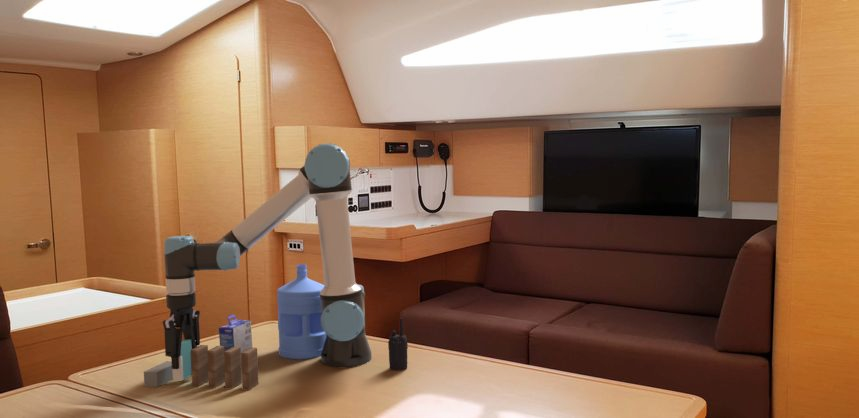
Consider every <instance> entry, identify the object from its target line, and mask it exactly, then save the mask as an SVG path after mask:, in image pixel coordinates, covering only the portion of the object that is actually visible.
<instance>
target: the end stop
mask: <svg viewBox="0 0 859 418" xmlns="http://www.w3.org/2000/svg"><path fill="white" fill-rule="evenodd" d="M172 380H173V372H172V361H171V360H166V361H164V362H162V363H159V364H157V365H155V366H153V367H151V368H148V369H147V370H144V371H143V382H144V383H143V384H144V386H143V387H147V388H148V387H150V388H158V387H160V386H162V385H164V384H166V383H169V382H171V381H172Z"/></svg>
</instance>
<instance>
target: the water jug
mask: <svg viewBox="0 0 859 418" xmlns="http://www.w3.org/2000/svg"><path fill="white" fill-rule="evenodd" d="M307 267H308V266H307V264H297V265H296V278H295V279H294V280H293V279H292V280H291V281H289V282H288V283H286V284H284V285H282V286H280V287H279V288H278V289H277V290H276V291H277V292H276V293H277V295H276V302H277V319H278V321H277V328H278V342H279V343H278V346H279V347H278V354H279V356H280V357H282V358H284V359H289V360H306V359H307V360H308V359H314V358H318V357H321V353H322V350H323V346H324V343H325V339H326V333H325V332H324V330H323V328H322V326H321V315H322V310H321V300H320V292H321V290H322V289H323V288H324V286H325V285H324V284H323V283H320V282H318V281H315V280H312V279H310V278H308V270H307Z"/></svg>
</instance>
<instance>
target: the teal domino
mask: <svg viewBox="0 0 859 418" xmlns="http://www.w3.org/2000/svg"><path fill="white" fill-rule="evenodd" d="M191 349H192V341H191V339H184V338H183V339H182V343H181V352H180V356H182V360H183V380H182V381H184V380H185V379H187V378H189V377H192V368H191Z"/></svg>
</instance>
